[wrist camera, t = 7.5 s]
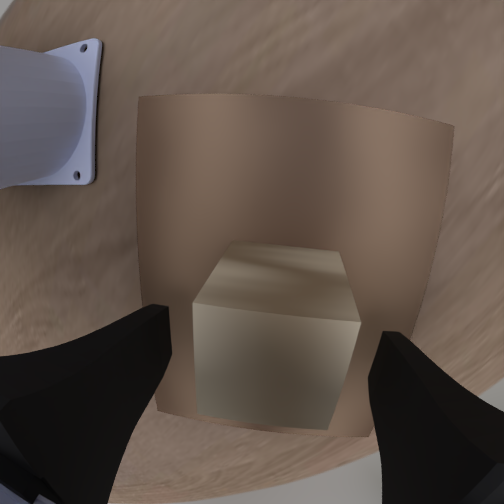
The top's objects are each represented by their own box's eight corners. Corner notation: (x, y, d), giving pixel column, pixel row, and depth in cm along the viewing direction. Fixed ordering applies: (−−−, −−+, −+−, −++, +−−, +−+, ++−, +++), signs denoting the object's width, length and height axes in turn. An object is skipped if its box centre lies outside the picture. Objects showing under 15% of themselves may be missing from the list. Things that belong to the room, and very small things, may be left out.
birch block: (229, 329, 14) (197, 413, 9) (232, 240, 12) (192, 302, 8) (322, 340, 13) (327, 430, 8) (339, 251, 12) (361, 322, 7)
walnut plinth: (173, 378, 19) (157, 410, 16) (167, 103, 14) (138, 96, 11) (362, 401, 18) (368, 437, 15) (425, 127, 12) (454, 125, 10)
